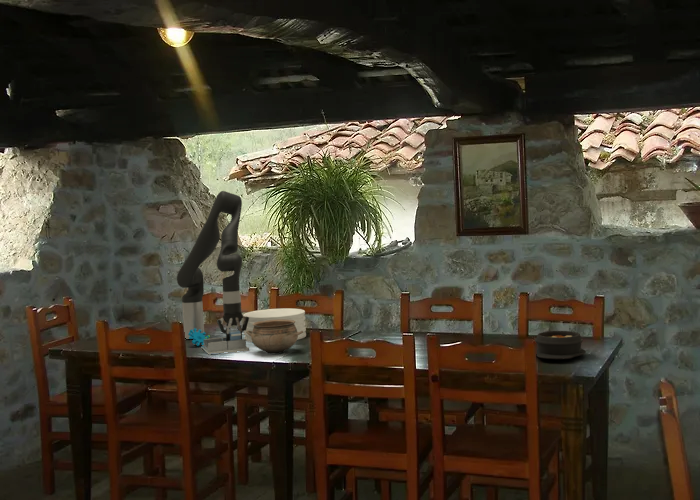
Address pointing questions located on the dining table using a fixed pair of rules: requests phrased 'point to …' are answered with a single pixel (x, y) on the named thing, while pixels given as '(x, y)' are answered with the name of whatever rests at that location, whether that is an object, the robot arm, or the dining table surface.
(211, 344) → the plate
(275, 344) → the cooking pot
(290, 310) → the plate stack
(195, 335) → the gear
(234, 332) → the block
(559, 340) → the casserole
